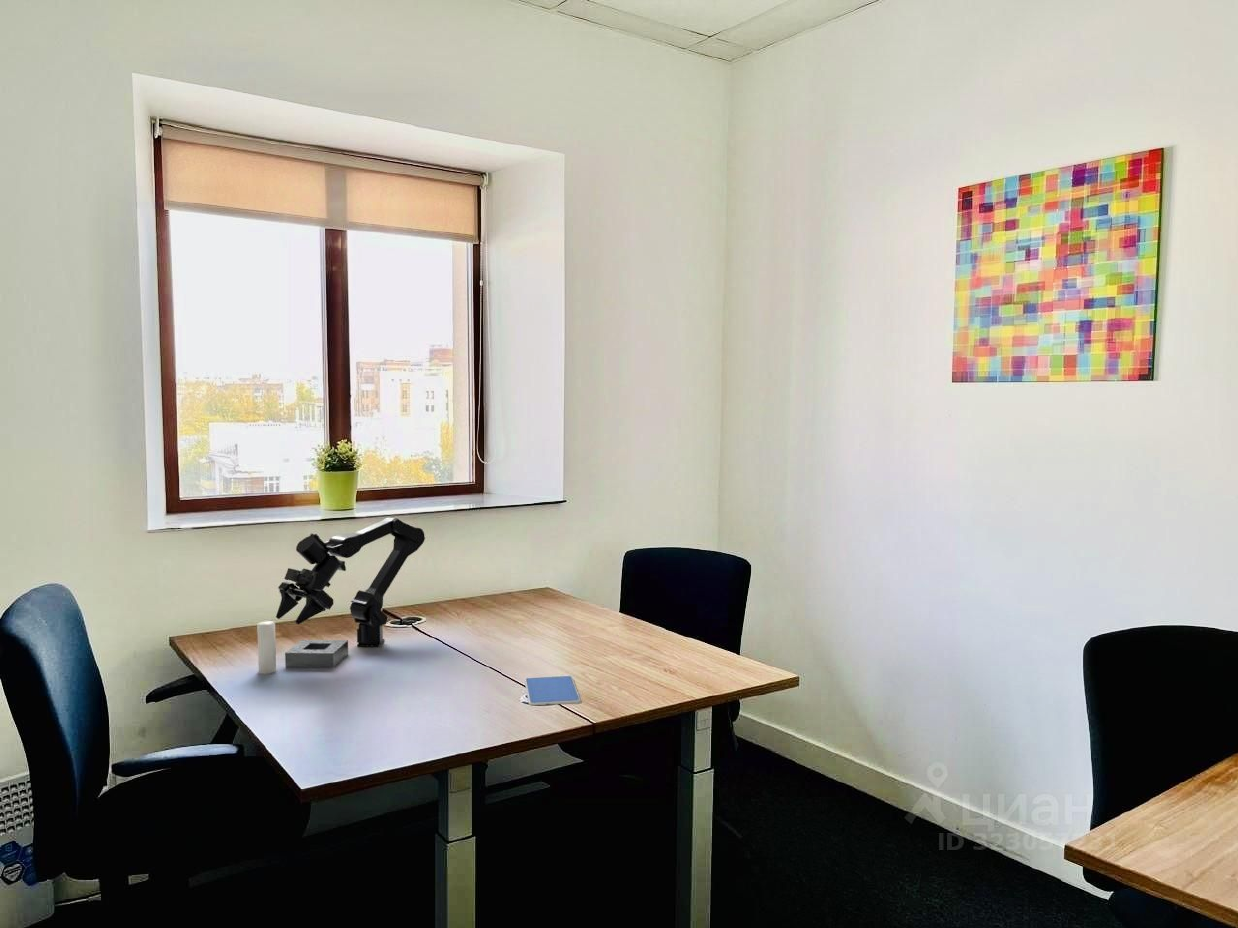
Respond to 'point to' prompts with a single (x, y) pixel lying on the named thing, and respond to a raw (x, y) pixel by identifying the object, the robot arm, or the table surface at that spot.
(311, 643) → the collar
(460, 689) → the table surface
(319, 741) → the table surface
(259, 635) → the peg
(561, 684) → the tablet computer
